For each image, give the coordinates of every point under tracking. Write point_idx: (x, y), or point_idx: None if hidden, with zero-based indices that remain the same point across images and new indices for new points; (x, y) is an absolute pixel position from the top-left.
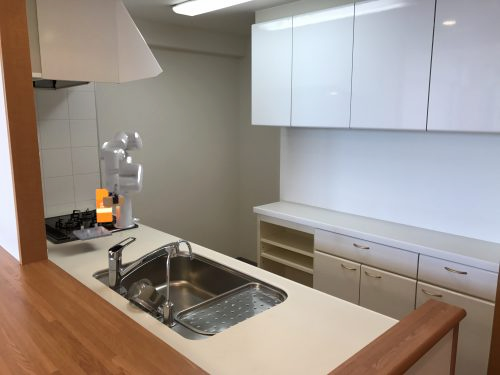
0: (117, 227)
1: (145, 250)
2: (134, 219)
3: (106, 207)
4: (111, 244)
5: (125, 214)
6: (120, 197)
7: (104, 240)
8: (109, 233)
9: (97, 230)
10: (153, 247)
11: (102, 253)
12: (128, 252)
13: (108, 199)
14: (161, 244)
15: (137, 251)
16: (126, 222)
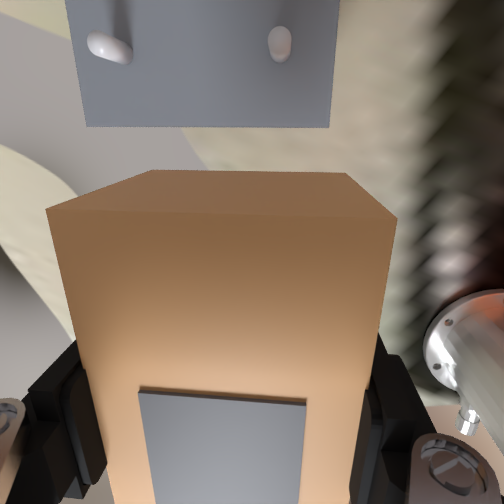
0: (475, 295)
1: (19, 246)
2: (472, 413)
3: (171, 170)
4: (195, 138)
5: (489, 397)
6: (115, 502)
7: (297, 131)
8: (87, 103)
9: (223, 40)
10: (47, 292)
11: (58, 22)
12: (20, 164)
13: (70, 262)
14: (73, 336)
15: (18, 209)
16: (455, 356)
